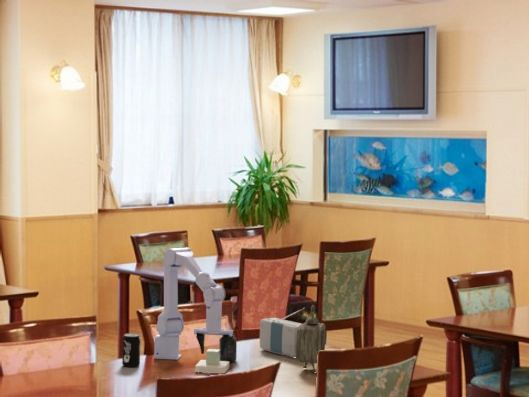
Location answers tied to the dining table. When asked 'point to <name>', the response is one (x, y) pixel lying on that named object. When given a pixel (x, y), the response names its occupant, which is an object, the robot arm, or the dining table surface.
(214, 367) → the ceramic base
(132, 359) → the beverage can
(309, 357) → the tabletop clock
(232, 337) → the supplement bottle
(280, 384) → the dining table surface
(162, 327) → the robot arm
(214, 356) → the sage block
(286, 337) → the stereo radio cassette player
